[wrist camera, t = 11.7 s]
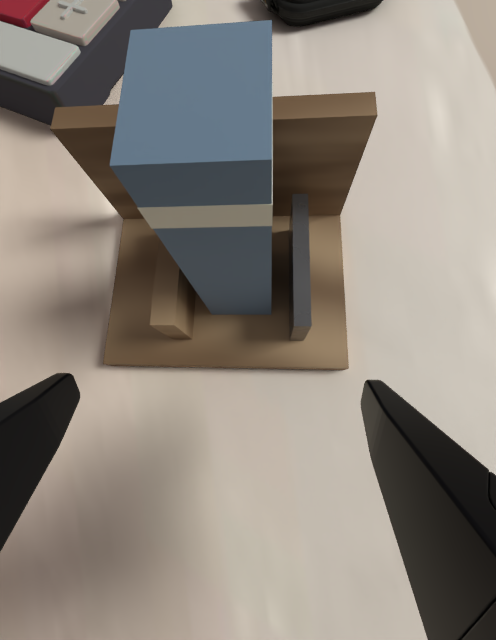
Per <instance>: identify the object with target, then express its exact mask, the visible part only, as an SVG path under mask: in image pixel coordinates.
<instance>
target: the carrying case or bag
mask: <svg viewBox="0 0 496 640" xmlns="http://www.w3.org/2000/svg"><path fill="white" fill-rule="evenodd" d="M261 1H262V3H263V4H264V5H265V6H266V8H267V9H268V11H270V12H271V10H272V11H273V13H276V14H278V15H279V16H280V17H282V19H283V20H284V21H285V22H286V23H287V24H288V25H290V26H304V25H308V24H312V23H317V22H321V21H325V20H329V19H333V18H337V17H342V16H346V15H350V14H354V13H358V12H362V11H367V10H370V9H373V8H375V7H376V6H378V5H379V4H380V3H381V2H382V1H383V0H261Z"/></svg>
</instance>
